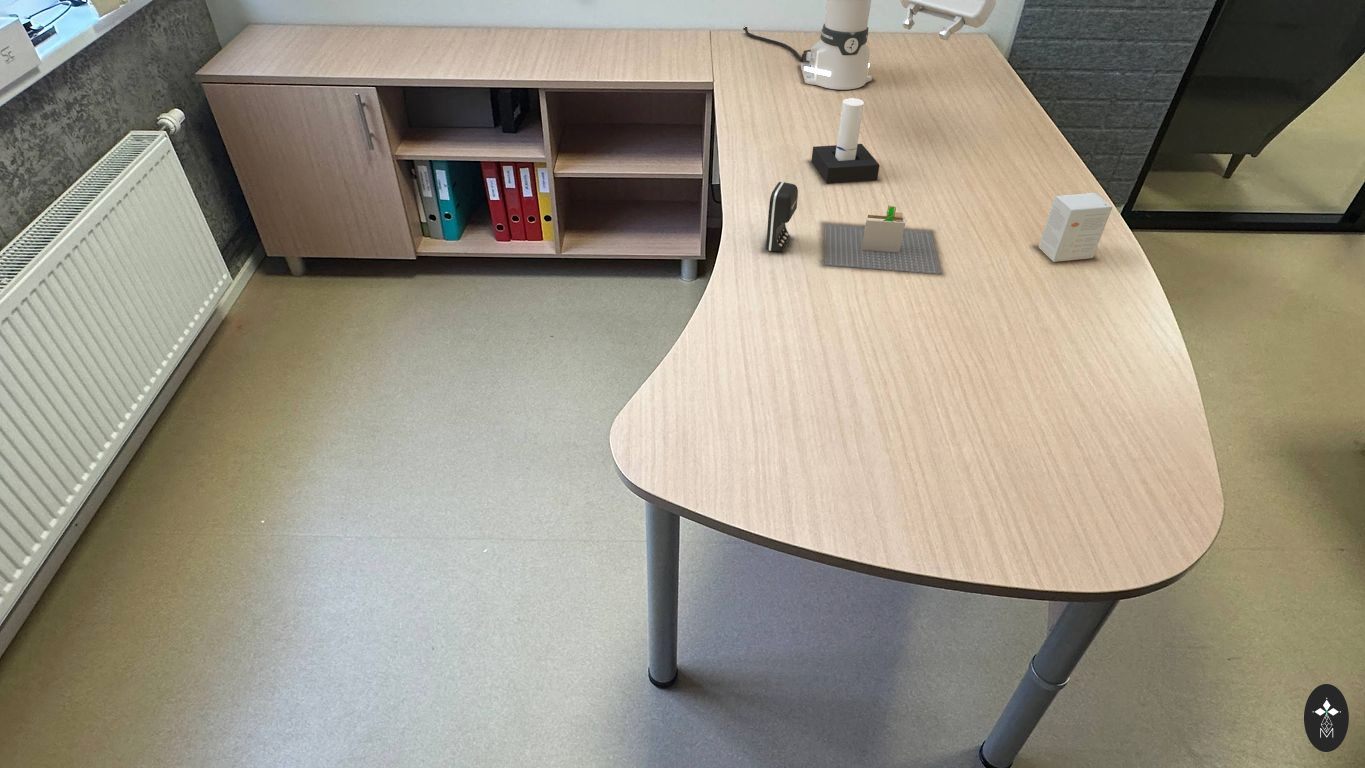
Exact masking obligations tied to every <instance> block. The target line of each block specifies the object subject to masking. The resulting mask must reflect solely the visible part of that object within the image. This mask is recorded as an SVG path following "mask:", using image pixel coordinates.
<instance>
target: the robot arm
mask: <svg viewBox="0 0 1365 768" xmlns="http://www.w3.org/2000/svg"><path fill="white" fill-rule="evenodd" d="M899 1H900V3H901V5H902V7H903V8H904V9H906V15H905V16H906V17H905V18H904V19H903V21H902V24H901V25H902V27H903V28H904V29H906V30H912V28H913V27H914V25H915V21H914V18H913V17H914V16H916V15H917V14H918V12H919V13H921V14H926V15H929V16H933V17H936V18H940V19H943V20H947V21H951V22H952V23H951V24H950V25H949V26H947V27H945V26H944V27H942V29H941V31H940V32H939V33H938V36H939V39H940V40H943V41H945V42H947V41H948V40H949V39H950V38H951V36H952V35H954V34H955V33H957V32H959V31H960V30H962V29H963V27H964V26H968V27H972V28H976V29H978V28H981V27H982V26H983V25H985V23H986V22H987V20H988V19H989V17H990V16H991V14H992V13H993V11H994V9H995V7H996V4H997V0H899ZM871 4H872V0H826V6H825V19H824V23H823V25H822V29H821V31H820V36H819V38H820V39H819V40H818V41H817V42H815V44H813V46H811V48H810V49H804V50H803V53H802V54H801V57H800V55H799V53H798V52H797V51H796V49H794V48H792V47H791V46H790V45H788V44H786V43H783V42H781V41H779V40H774V39H770V38H766V37H764V36H763V37H762V36H760V35H759V36H758V35H757V34H756V35H755V34H753V33H751V32H749V29H748V26H747V27H745V26H744V27H745V28H744V27H743V28H742V30H743V31H744V32H745V34H746V35H747V36H748V37H750V38H752V39H756V40H759V41H763V42H766V43H771V44H775V45H778V46H781V47H783V48H785V49H787V50H788V51H790V52H791V53H793V55H794V56H795V58H796V59H797V60H798V61H800V62H801V63H800V69H801V73H802V77H803V81H804V83H805V84H807V85H812V86H817V87H821V88H825V89H831V90H843V91H844V90H854V89H859V88H862V87H864V86H865V85H866V84H867V83H869V82H872V81H873V75H872V74H869V68H870V65H871V63H870V57H871V49H870V48H869V47H868V46H867V43H868V37H869V27H868V26H869V25H868V24H869V18H870V12H871Z"/></svg>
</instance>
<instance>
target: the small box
mask: <svg viewBox="0 0 1365 768" xmlns="http://www.w3.org/2000/svg"><path fill="white" fill-rule="evenodd" d="M1112 210H1113V206H1112V205H1111V204H1110V203H1109V202H1108V201H1106V200H1105V199H1104V198H1102V197H1101V196H1100V195H1099V194H1098V193H1096V192H1085V193H1077V194H1074V193H1073V194H1064V195H1055V196H1054V198H1053V202H1052V204H1051V208H1050V210H1049V214H1048V215H1047V216H1048V217H1047V220H1046V222H1045V226H1044V229H1043V232H1042V235H1041V237H1040V240H1039V244H1038V249H1040V251H1041V252H1043V253H1044V254H1045V255H1046V257H1048V258H1049V259H1050V261H1052V262H1053V263H1056V262H1068V261H1076V260H1077V261H1079V260H1086V259H1087V260H1089V259H1093V258H1094V256H1095V254H1096V251H1097V249H1098V245H1099V243H1100V241H1101V238H1102V236H1103V233H1104V231H1105V228H1106V225H1107V223H1108V220H1109V218H1110V215H1111V213H1112Z"/></svg>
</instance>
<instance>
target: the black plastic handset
mask: <svg viewBox="0 0 1365 768" xmlns="http://www.w3.org/2000/svg"><path fill="white" fill-rule="evenodd" d="M798 198H799V189H798V186H797V185H796V184H794V183H790V182H785V181H778V182H777V184H776V185H775V187H774V188H773V190H772V191H771V195H770V197H769V206H768V217H767V228H766V229H767V230H766V239H765V240H766V241H765V250H768V251H769V252H783V250H785V247H786V246H787V244H788V243H789V241H790V238H791V235H790V234H789V232H788V229H787V225H786V224H787V223H789V222H790V221H791V219H792V217H793V215H794V214H795V212H796V210H797V209H798Z"/></svg>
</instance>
